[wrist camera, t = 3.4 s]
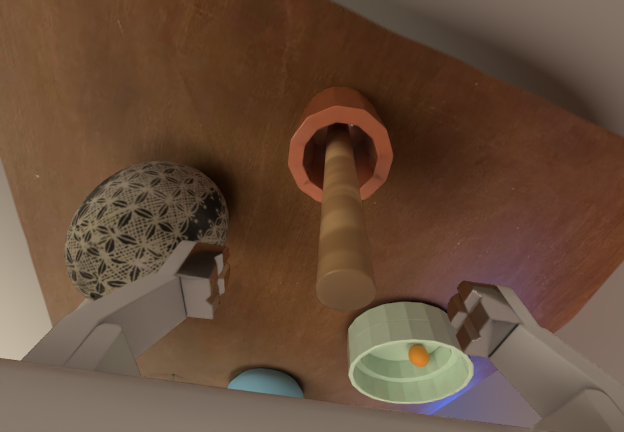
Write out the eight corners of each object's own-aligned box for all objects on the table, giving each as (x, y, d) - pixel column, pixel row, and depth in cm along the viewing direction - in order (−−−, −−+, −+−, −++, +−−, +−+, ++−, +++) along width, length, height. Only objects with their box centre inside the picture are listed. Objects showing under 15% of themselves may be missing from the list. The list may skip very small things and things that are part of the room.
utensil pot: (390, 120, 26) (414, 153, 18) (341, 173, 29) (344, 221, 21) (333, 68, 24) (333, 81, 16) (287, 131, 27) (269, 167, 19)
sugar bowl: (320, 390, 54) (318, 467, 44) (269, 409, 60) (256, 480, 50) (265, 355, 49) (248, 433, 39) (214, 380, 55) (189, 453, 45)
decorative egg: (263, 214, 32) (218, 325, 20) (187, 245, 36) (108, 356, 23) (201, 123, 27) (85, 195, 14) (119, 169, 30) (-33, 260, 18)
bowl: (478, 331, 41) (499, 375, 36) (396, 372, 49) (404, 414, 43) (403, 280, 37) (415, 322, 31) (326, 333, 44) (325, 375, 39)
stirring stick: (353, 126, 26) (389, 290, 9) (339, 142, 27) (348, 319, 10) (337, 112, 25) (343, 259, 8) (323, 129, 26) (303, 293, 9)
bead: (430, 346, 43) (436, 365, 40) (415, 354, 44) (420, 373, 42) (417, 338, 42) (422, 357, 39) (402, 346, 43) (406, 365, 41)
